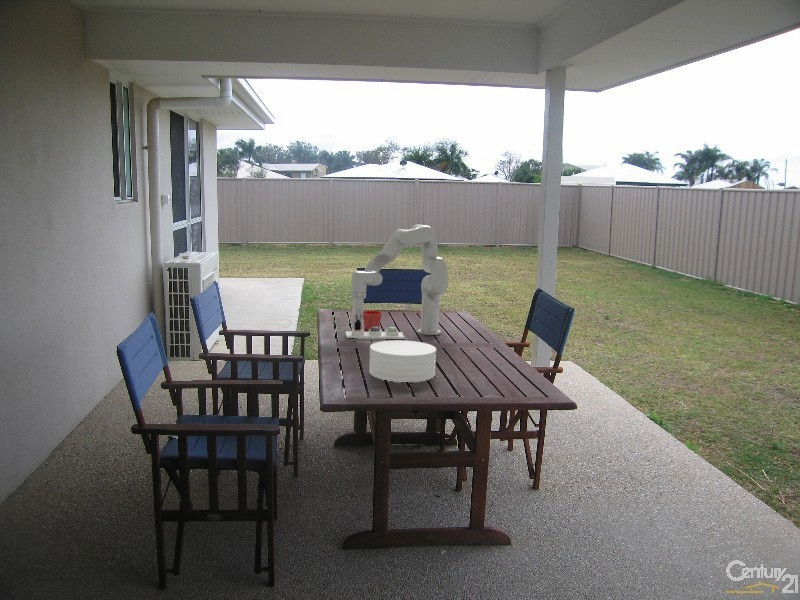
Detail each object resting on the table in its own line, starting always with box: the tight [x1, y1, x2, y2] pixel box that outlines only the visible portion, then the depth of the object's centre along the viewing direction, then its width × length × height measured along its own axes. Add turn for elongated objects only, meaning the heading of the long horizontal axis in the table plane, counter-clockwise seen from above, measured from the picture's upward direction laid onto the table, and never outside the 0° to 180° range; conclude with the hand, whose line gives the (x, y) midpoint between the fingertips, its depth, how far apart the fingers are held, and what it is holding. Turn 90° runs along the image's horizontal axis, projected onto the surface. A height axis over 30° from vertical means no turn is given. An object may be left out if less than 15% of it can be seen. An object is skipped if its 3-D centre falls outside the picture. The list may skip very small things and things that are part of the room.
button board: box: [345, 328, 406, 340], centre depth 366 cm, size 12×30×4 cm, turn 97°
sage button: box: [387, 326, 397, 332], centre depth 367 cm, size 4×4×2 cm
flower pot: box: [362, 310, 383, 331], centre depth 384 cm, size 11×11×10 cm
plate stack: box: [368, 339, 437, 384], centre depth 296 cm, size 28×28×12 cm
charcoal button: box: [371, 326, 380, 331], centre depth 366 cm, size 4×4×2 cm
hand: (357, 329), depth 365 cm, fingers closed
